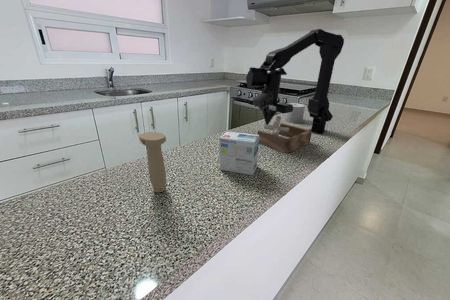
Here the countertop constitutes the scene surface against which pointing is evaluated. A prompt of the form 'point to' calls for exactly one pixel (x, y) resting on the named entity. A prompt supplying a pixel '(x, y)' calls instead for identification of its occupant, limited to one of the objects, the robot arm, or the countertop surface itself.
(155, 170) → the handle
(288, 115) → the toilet tissue
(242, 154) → the light bulb box
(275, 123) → the pipe connector
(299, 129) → the walnut bay
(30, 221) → the countertop surface
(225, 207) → the countertop surface
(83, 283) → the countertop surface
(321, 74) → the robot arm
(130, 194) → the countertop surface
